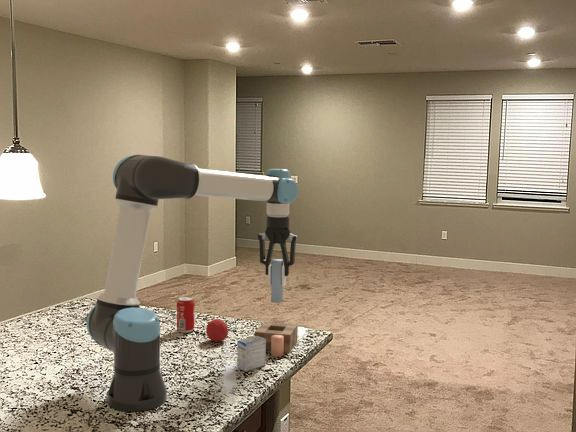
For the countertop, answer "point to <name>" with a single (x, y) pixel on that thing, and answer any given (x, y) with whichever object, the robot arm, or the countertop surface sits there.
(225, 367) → the countertop surface
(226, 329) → the tomato
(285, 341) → the hole block
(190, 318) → the beverage can
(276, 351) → the short pin
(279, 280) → the long pin
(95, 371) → the countertop surface
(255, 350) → the medicine box
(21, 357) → the countertop surface
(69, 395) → the countertop surface
